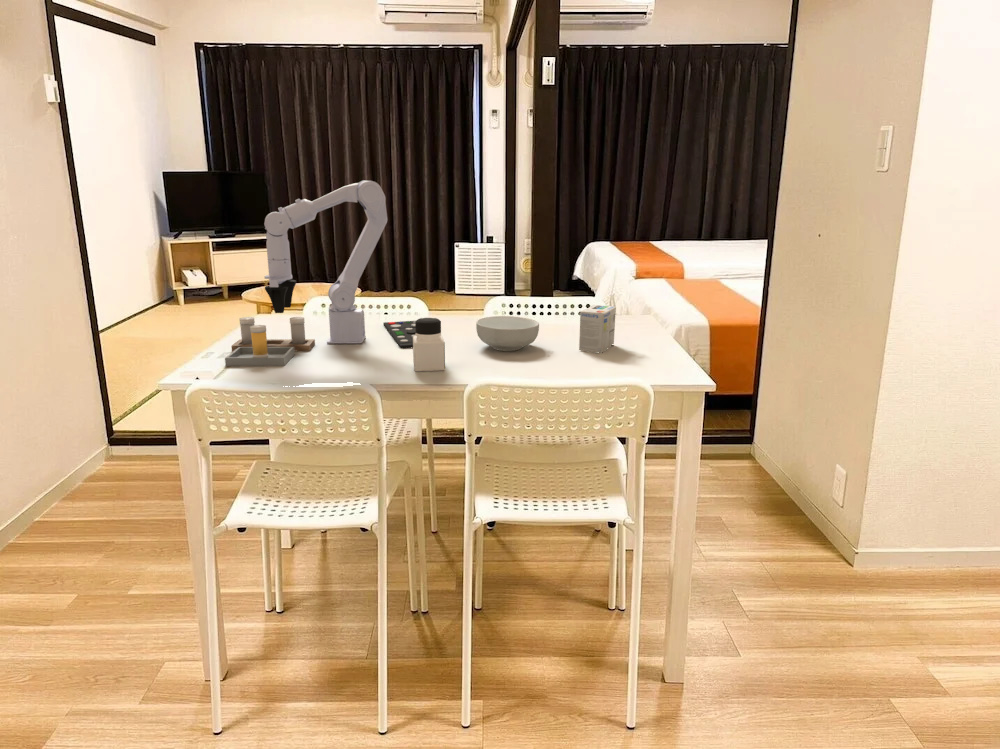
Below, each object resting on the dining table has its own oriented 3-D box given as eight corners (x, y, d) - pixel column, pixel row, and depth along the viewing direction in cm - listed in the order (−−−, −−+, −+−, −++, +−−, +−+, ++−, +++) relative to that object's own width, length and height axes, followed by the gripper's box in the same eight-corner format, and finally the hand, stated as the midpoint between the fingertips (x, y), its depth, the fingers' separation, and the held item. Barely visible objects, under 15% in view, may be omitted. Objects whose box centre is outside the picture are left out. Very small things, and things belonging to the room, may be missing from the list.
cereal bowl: (509, 358, 183) (509, 331, 181) (463, 347, 194) (463, 321, 192) (551, 347, 195) (552, 321, 193) (505, 337, 206) (505, 313, 204)
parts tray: (294, 354, 185) (294, 346, 185) (284, 365, 175) (283, 357, 174) (239, 354, 185) (238, 346, 184) (225, 365, 174) (224, 357, 174)
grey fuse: (307, 346, 194) (305, 316, 192) (304, 349, 190) (302, 319, 188) (293, 346, 194) (291, 316, 191) (290, 349, 190) (288, 319, 188)
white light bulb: (258, 346, 193) (255, 317, 191) (254, 349, 190) (251, 319, 187) (244, 346, 193) (241, 316, 191) (240, 349, 190) (237, 319, 187)
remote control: (419, 325, 223) (419, 318, 223) (441, 348, 195) (441, 340, 195) (383, 327, 220) (383, 320, 219) (400, 350, 192) (400, 343, 192)
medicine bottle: (445, 370, 171) (444, 321, 168) (414, 372, 170) (413, 322, 167) (442, 363, 178) (441, 315, 175) (413, 364, 177) (412, 316, 174)
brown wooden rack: (315, 344, 195) (314, 339, 195) (309, 351, 189) (309, 345, 188) (240, 344, 195) (239, 339, 194) (231, 351, 188) (231, 345, 187)
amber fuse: (270, 356, 181) (267, 324, 179) (266, 359, 178) (263, 328, 176) (255, 356, 181) (252, 324, 179) (251, 360, 178) (248, 328, 175)
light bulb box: (591, 342, 200) (593, 304, 197) (614, 345, 198) (616, 306, 195) (578, 350, 191) (579, 310, 188) (602, 353, 188) (604, 313, 185)
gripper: (270, 255, 196) (274, 305, 200) (255, 262, 182) (260, 315, 186) (297, 255, 196) (300, 305, 200) (284, 262, 182) (288, 315, 186)
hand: (282, 310), depth 193 cm, fingers open, 7 cm apart
